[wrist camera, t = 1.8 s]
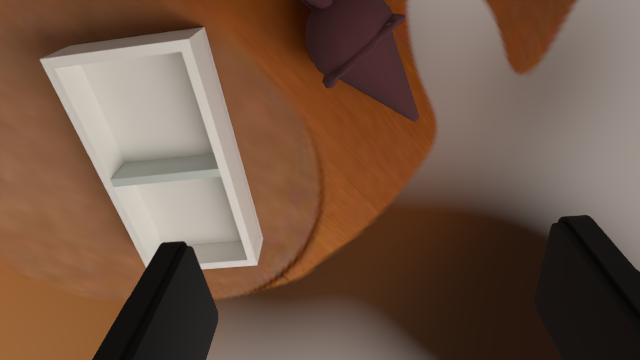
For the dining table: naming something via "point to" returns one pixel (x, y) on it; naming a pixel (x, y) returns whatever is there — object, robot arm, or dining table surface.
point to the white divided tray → (162, 142)
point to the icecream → (360, 50)
